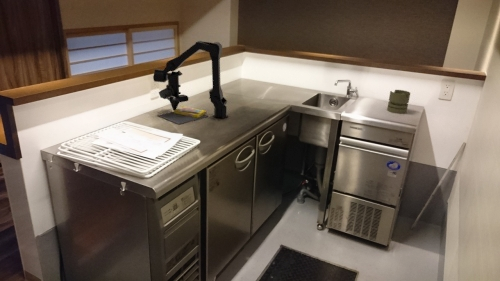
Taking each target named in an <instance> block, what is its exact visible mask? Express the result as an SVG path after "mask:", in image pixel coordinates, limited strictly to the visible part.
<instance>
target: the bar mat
mask: <svg viewBox="0 0 500 281" xmlns="http://www.w3.org/2000/svg"><path fill="white" fill-rule="evenodd" d="M156 115H157V117H159V118H161V119H164V120H166V121H168V122H171V123H173V124H175V125H178V126H179V125H182V124H183V125H184V124H186V123H191V122H195V121H198V120H201V119H202V120H203V119H205V118H209V115H208V114H205V115H203V116H201V117H199V118H195V117H190V116H185V115H181V114H176V113H174V111H171V112H165V113H161V114H156Z"/></svg>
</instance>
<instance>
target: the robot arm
mask: <svg viewBox="0 0 500 281" xmlns="http://www.w3.org/2000/svg"><path fill="white" fill-rule="evenodd" d="M198 51H203V52H208V53H209V57H210V60H211V73H212V74H211V76H212V79H211V80H212V88H211V89H210V90H209V91H208V94H209V98H208V99H209V100H210V102H211V104H213V107H214V108H213V109H214V110H213V114H214V115H212V117H213V118H215V119H219V120H222V119H226V118H228V117H229V115H227V106H226V105H227V103H228V100H227V99H226V98H225V97H224V94H223V93H224V92H223V89H222V86H221V57H222V52H223V45H222V44H221V43H220V42H218V41H214V42H209V41H202V40H198V41H196V42H195V43H194V44H193V45H192V46H190V47H189V48H188V49H186V50H185V51H183V52H182V53H181V54H180V55H178V56H176V57H174V58H172V59H170V60H168V61H166V63H165V67H164V68H163V69H159V68H155V69H154V73H153V76H152V78H153V81H154V83H166V82H167V84H166V85H165V88H163V89H161V90H160V91H158V94H159V98H160V99H164V100H168V101H169V103H170V105H171V107H172V110H173V111H174V110H176V109H178V106H179V104H180V103H184V102H189V96H188V95H186V94H181V93H182V92H181V91H180V88H181V84H180V82H179V81H180V76H182V75H183V73H182V72H181V71H180V70H178V69H180V67H181V66H182V65H183V64H184V62H185V61H187V60H188V59H189V58H190V57H192V56H193V55H195V54H196V53H197V52H198ZM176 70H178V71H176Z"/></svg>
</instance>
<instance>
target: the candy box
mask: <svg viewBox="0 0 500 281" xmlns="http://www.w3.org/2000/svg"><path fill="white" fill-rule="evenodd" d="M173 112H174V113H176V114H181V115H185V116H190V117H195V118H199V117H201V116H203V115H207V111H206V110H205V109H204V110H203V109H198V108H192V107H188V106H187V107H186V106H180V107H177V108H176V110H173Z"/></svg>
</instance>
